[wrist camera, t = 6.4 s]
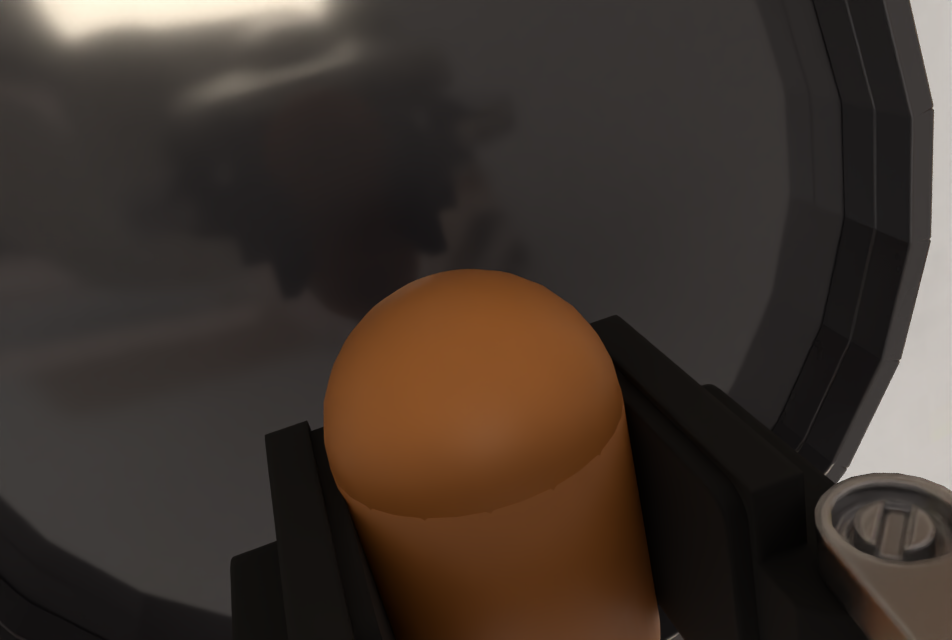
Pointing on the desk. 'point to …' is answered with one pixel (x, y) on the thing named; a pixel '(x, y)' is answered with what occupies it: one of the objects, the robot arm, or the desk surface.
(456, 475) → the drumstick
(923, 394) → the desk surface
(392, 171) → the pan
